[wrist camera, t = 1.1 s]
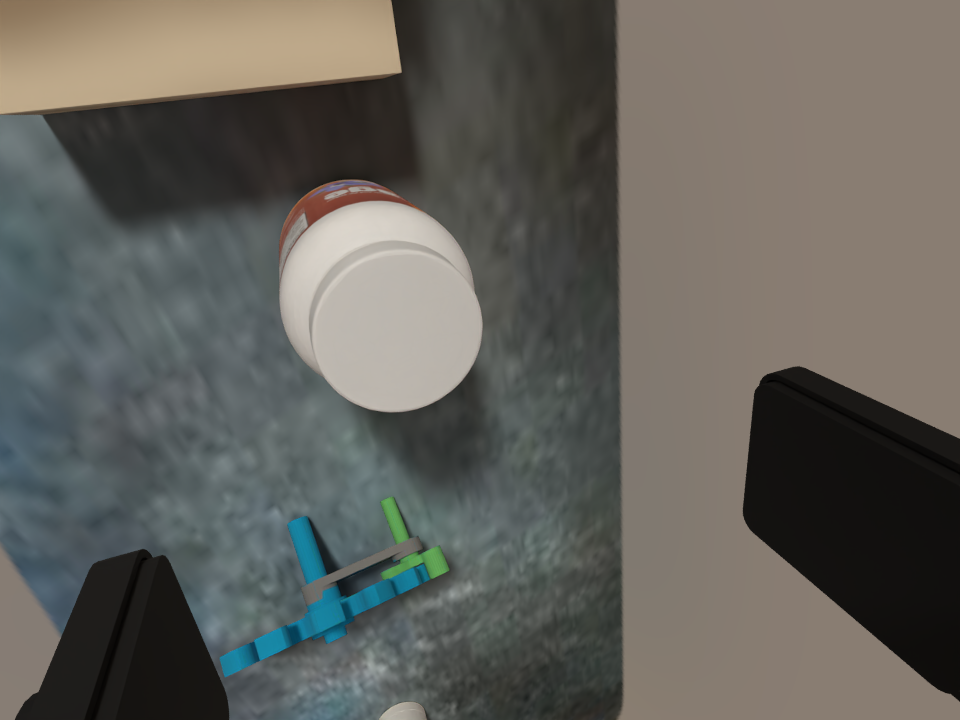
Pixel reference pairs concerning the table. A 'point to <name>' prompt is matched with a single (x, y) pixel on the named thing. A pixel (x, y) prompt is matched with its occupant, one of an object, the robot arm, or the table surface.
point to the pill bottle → (377, 296)
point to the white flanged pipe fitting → (405, 712)
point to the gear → (324, 594)
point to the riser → (184, 49)
